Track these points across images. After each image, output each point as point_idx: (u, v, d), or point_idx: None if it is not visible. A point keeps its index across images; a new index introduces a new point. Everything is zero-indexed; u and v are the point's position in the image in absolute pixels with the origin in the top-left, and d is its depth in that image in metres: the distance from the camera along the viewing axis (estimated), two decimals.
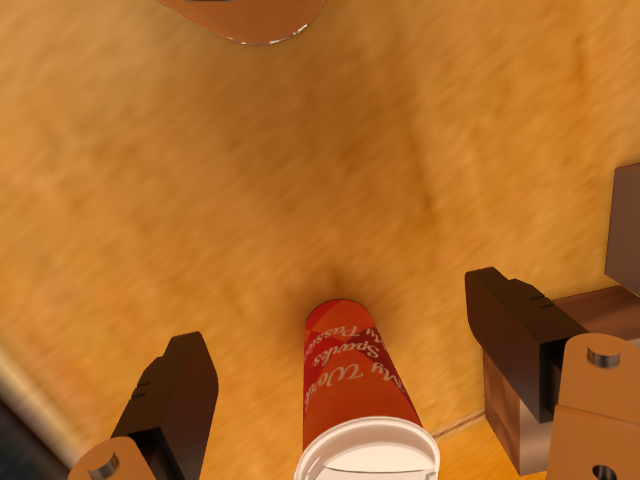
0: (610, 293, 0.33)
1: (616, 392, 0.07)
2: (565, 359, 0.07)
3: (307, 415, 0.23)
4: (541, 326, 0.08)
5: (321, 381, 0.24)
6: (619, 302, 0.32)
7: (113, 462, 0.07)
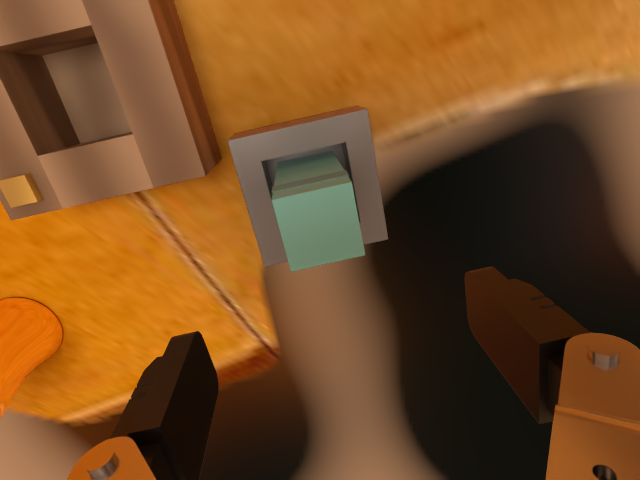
0: (213, 140, 0.28)
1: (616, 392, 0.07)
2: (565, 359, 0.07)
3: None
4: (541, 326, 0.08)
5: None
6: (209, 138, 0.27)
7: (113, 462, 0.07)
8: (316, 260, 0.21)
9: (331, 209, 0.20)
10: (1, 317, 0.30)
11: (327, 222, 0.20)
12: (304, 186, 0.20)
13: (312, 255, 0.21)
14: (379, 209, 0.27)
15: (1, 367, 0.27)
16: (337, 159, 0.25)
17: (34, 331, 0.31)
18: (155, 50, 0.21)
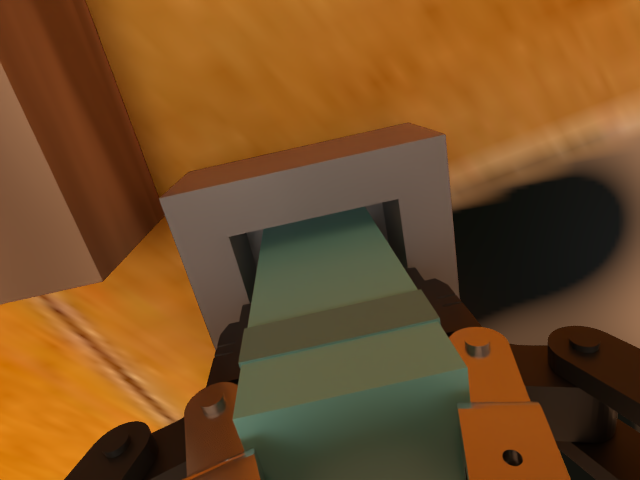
0: (146, 185, 0.15)
1: (496, 377, 0.07)
2: None
3: None
4: None
5: None
6: (132, 187, 0.14)
7: (222, 404, 0.08)
8: None
9: (403, 433, 0.07)
10: None
11: (389, 461, 0.07)
12: (325, 353, 0.08)
13: None
14: None
15: None
16: (383, 236, 0.12)
17: None
18: None
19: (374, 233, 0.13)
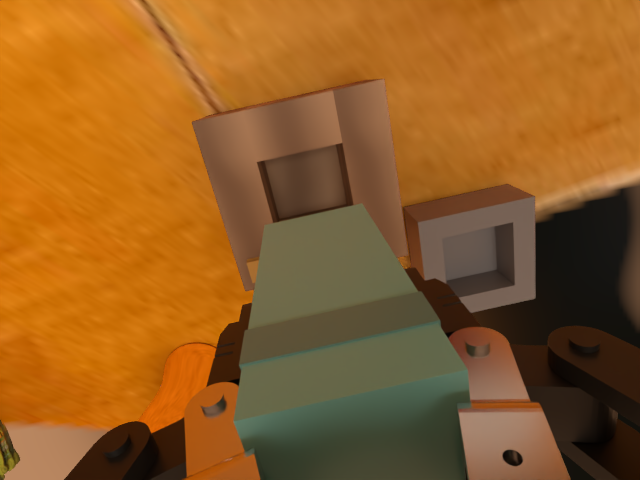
0: None
1: (496, 377, 0.07)
2: None
3: None
4: None
5: None
6: None
7: (221, 404, 0.08)
8: None
9: (403, 435, 0.07)
10: (194, 363, 0.35)
11: (389, 462, 0.07)
12: (326, 355, 0.08)
13: None
14: (531, 274, 0.32)
15: None
16: (384, 238, 0.12)
17: None
18: (388, 160, 0.26)
19: (374, 234, 0.13)
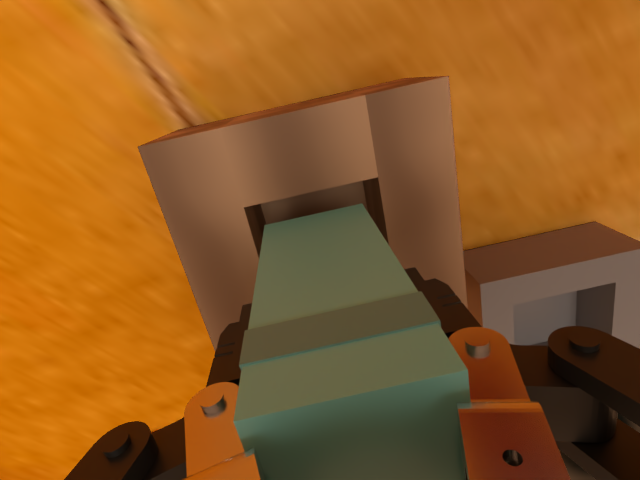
0: None
1: (496, 377, 0.07)
2: None
3: None
4: None
5: None
6: None
7: (221, 404, 0.08)
8: None
9: (403, 435, 0.07)
10: None
11: (390, 464, 0.07)
12: (326, 355, 0.08)
13: None
14: None
15: None
16: (384, 238, 0.12)
17: None
18: (448, 203, 0.17)
19: (374, 234, 0.13)
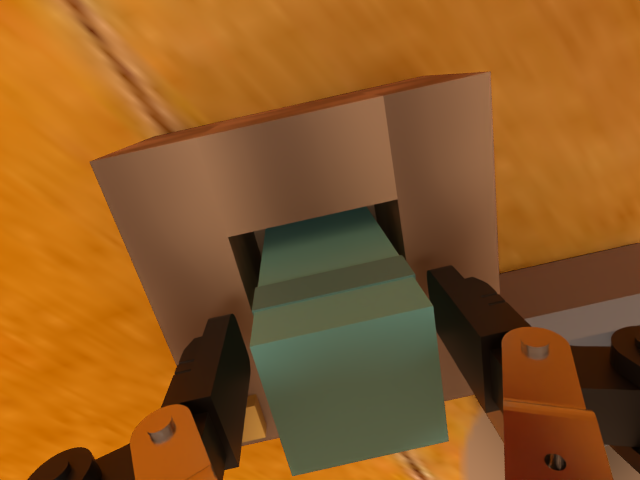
0: None
1: (551, 381, 0.07)
2: (503, 355, 0.08)
3: None
4: (485, 320, 0.09)
5: None
6: None
7: (170, 428, 0.08)
8: (346, 454, 0.10)
9: (384, 361, 0.09)
10: None
11: (373, 385, 0.09)
12: (322, 302, 0.10)
13: (338, 446, 0.10)
14: None
15: None
16: (373, 217, 0.14)
17: None
18: (483, 231, 0.13)
19: (365, 215, 0.15)
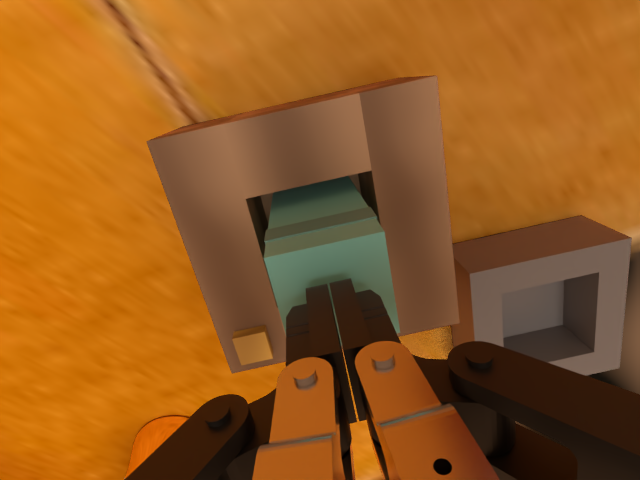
0: None
1: (406, 388, 0.08)
2: (361, 377, 0.08)
3: None
4: (354, 334, 0.10)
5: None
6: None
7: (312, 380, 0.08)
8: None
9: (353, 270, 0.13)
10: None
11: None
12: (312, 234, 0.14)
13: None
14: (617, 338, 0.24)
15: None
16: (354, 186, 0.19)
17: None
18: (437, 195, 0.18)
19: (349, 185, 0.19)
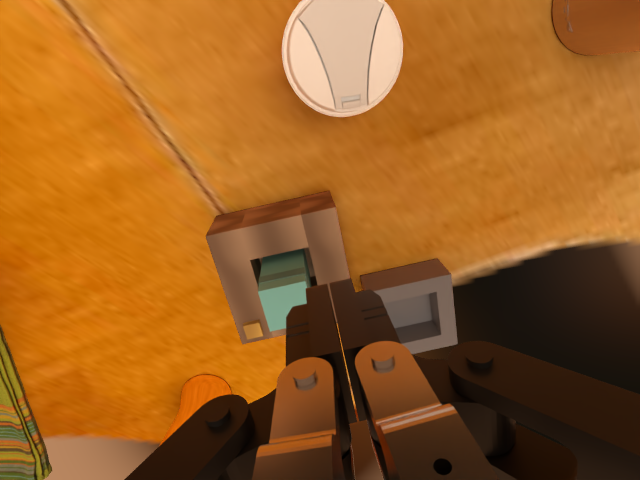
0: None
1: (407, 388, 0.08)
2: (361, 378, 0.08)
3: None
4: (354, 334, 0.10)
5: None
6: None
7: (312, 380, 0.08)
8: (285, 325, 0.34)
9: (293, 296, 0.33)
10: (204, 391, 0.46)
11: (291, 303, 0.33)
12: (278, 280, 0.34)
13: (283, 322, 0.34)
14: (453, 327, 0.44)
15: None
16: (302, 252, 0.38)
17: None
18: (340, 257, 0.38)
19: (300, 250, 0.39)
